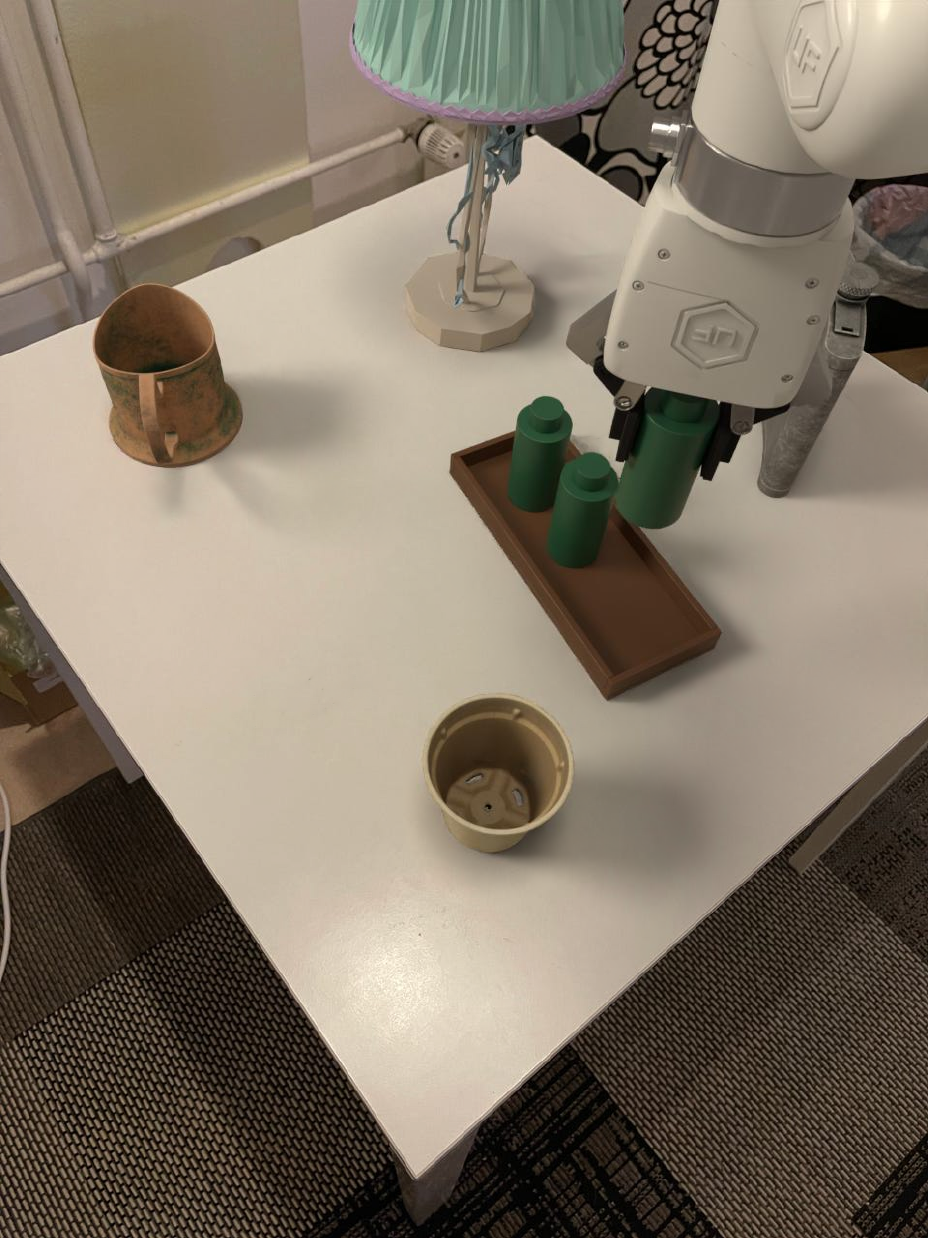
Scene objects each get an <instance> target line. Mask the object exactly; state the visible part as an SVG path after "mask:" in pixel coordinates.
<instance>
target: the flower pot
mask: <svg viewBox="0 0 928 1238" xmlns="http://www.w3.org/2000/svg"><path fill="white" fill-rule="evenodd" d="M571 744H572V743H571V742H570V740H569V737H568V736H567V734H566V732H565V730H564V729H563V727H562V726H561V724H560V723H559V722H558V721H557V720H556V718H555V717H554V716H553V715H552V714H550V713H549V712H548V711H546V710H545V709H544V708H543V707H542V706H540V705H538V703H535V702H534V701H532V700H529V699H527V698H524V697H523V696H518V695H514V694H509V693H501V692H491V693H482V694H481V693H480V694H478V695H474V696H470V697H467V698H465V699H463V700H461V701H459V702H456V703H455V704H453V705H451V706H450V707H449V708H448V709H446V710H445V711H444V712H443V713H442V714H441V715H440V716H439V717H438V719H437V720H436V721H435V722H434V724H433V725H432V727H431V728H430V730H429V732H428V733H427V737H426V739H425V742H424V747H423V750H422V769H423V776H424V779H425V783H426V786H427V789H428V791H429V792H430V795H431V796H432V799H433V800H434V801H435V803H436V804H437V805H438V807H439V808H440V809H441V810H442V814H443V818H444V819H443V820H444V822H445V825H446V827H447V829H448V831H449V832H450V833H451V835H452V836H453V837H454V838H455V839H456V841H458V842H459V843H460V844H461V845H464V846H466V847H468V848H470V849H472V850H475V851H478V852H481V853H498V852H502V851H505V850H508V849H510V848H512V847H514V846H515V845H516V844H518V843H519V842H520V841H521V840H522V839H523V838H524V837H525V836H526V834H527V833H528V832H530V831H532V830H535V829H537V828H539V827H540V826H542V825H544V824H545V823H546V822H548V821H549V820H550V819H551V818H553V817H554V816H555V815H556V814H557V813H558V811H559V810H560V809H561V808H562V806H563V805H564V803H565V802H566V800H567V798H568V796H569V794H570V792H571V790H572V786H573V782H574V781H573V780H574V777H575V756H574V752H573V749H572V745H571ZM479 775H482V778H481V779H478V780H474V781H471V782H469V783H468V781H469V780H470V779H472V778H474V777H476V776H479ZM514 791H518V792H519V794H520V796H521V800H522V804H519V802H518V801H517V799H516V796H515V794H514V793H513V792H514ZM487 805H489V806H490V809H487V808H486V806H487Z"/></svg>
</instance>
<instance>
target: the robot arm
mask: <svg viewBox="0 0 928 1238" xmlns="http://www.w3.org/2000/svg"><path fill="white" fill-rule="evenodd" d="M717 5H718V6H717V9H716V12H715V16H714V19H713V23H712V28H711V31H710V35H709V39H708V43H707V46H706V50H705V53H704V57H703V61H702V65H701V69H700V74H699V77H698V80H697V85H696V88H695V92H694V95H693V97H692V101H691V105H690V109H683V110H682V114H681V117H680V116H676V115H675V116H674V115H672V116H671V118H665V117H661V116H660V117H659V116H654V118H653V122H652V125H651V126H652V127H651V130H650V135H649V140H648V144H647V148H646V151H650V152H655V153H661V154H662V157H663V158H668V159H670V160H669V161H668V162H667V163H666V164H665V165H664V166H663V167H662V169H661V171H660V173H659V174H658V176H657V178H656V180H655V182H654V184H653V187H652V189H651V190H650V193H649V195H648V197H647V199H646V201H645V205H644V207H643V209H642V212H641V214H640V217H639V220H638V224H637V225H636V228H635V230H634V233H633V236H632V238H631V242H630V245H629V248H628V251H627V254H626V257H625V260H624V263H623V267H622V270H621V273H620V278H619V281H618V286H617V288H616V289H614V290H613V291H612V292H611V293H609V294H608V295H606V296H605V297H604V298H602V299H601V300H600V301H599V302H597V304H595V305H594V306H592V307H591V308H590V309H588V310H587V311H586V312H584V313H583V314H582V315H581V316H580V317H578V318H577V319H575V320H574V321H573V322H572V323H571V324H570V325H569V327H568V331H567V336H566V340H565V346H566V347H567V348H568V349H569V350H570V351H571V352H572V353H573V354H574V355H575V356H577V357H578V358H579V359H580V360H581V362H583V363H585V365H589V366H590V367H591V368H592V370H593V371H592V372H593V374H594V375H595V376H596V378H597V379H598V380H599V381H600V383H601V384H602V385H603V386H604V387H605V388H606V390H607V391H608V392H609V394H611V395H612V397H613V402H612V403H613V406H614V407H615V409H614V413H613V415H612V420H611V424H610V428H609V433H608V439H610V440H616V441H618V446H617V450H616V455H615V460H614V461H615V462H619V463H623V464H624V463H625V461H628V458H629V455H630V451H631V448H632V445H633V441H634V438H635V435H636V431H637V428H638V425H639V421H640V417H641V412H642V407H643V399H644V396H645V394H646V392H647V391H646V389H647V388H648V387H650V388H651V387H654V388H659V389H664V390H669V391H673V392H678V393H683V394H688V395H693V396H698V397H703V398H708V399H712V400H717V402H719V403H718V404H719V407H720V419H719V421H718V424H717V426H716V429H715V432H714V434H713V437H712V439H711V442H710V444H709V447H708V449H707V452H706V454H705V457H704V459H703V462H702V464H701V467H700V469H699V477H701V478H702V480H703V481H708V482H712V481H713V480H714V477H715V474H716V472H717V470H718V468H719V465H720V463H726V464H729V463H730V462H731V460H732V459H733V455H734V453H735V451H736V448H737V446H738V444H739V442H740V440H741V437H742V436H745V435H748V434H750V433H751V432H752V431H753V428H754V425H757V424H760V423H762V421H765V420H767V419H770V418H772V417H775V416H777V415H780V414H783V413H785V412H787V411H788V410H789V408H790V407H793V406H796V407H799V406H803V405H807V404H811V403H815V402H819V401H823V400H826V399H828V398H829V397H830V396H831V394H832V375H831V372H830V369H829V367H828V364H827V361H826V358H825V356H824V353H823V350H822V348H821V345H820V342H819V340H820V338H821V335H822V333H823V330H824V327H825V325H826V322H827V319H828V317H829V314H830V311H831V308H832V305H833V303H834V300H835V297H836V294H837V291H838V288H839V285H840V282H841V279H842V276H843V273H844V269H845V266H846V262H847V259H848V255H849V251H851V247H852V242H853V239H854V238H853V237H854V234H855V233H854V232H855V227H856V222H855V217H854V209H853V205H852V202H851V200H850V198H849V195H850V193H851V191H852V189H853V185H854V184H855V182H856V180H858V179H859V180H878V179H890V178H897V177H898V178H899V177H906V176H913V175H920V174H928V0H719V1H718V4H717ZM786 376H787V377H786Z"/></svg>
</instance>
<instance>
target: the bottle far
mask: <svg viewBox="0 0 928 1238" xmlns="http://www.w3.org/2000/svg"><path fill="white" fill-rule="evenodd" d="M573 428H574V423H573V418H572V416H571V415H570V413H569V412H568V411H567V410H566V409H565V406H564V404H563V403H562V401H560V400H559V399H558V398H557V397H553V396H550V395H542V396H539V397H538V396H537V397H536V398H535V399H533V400H532V402H531V403H530V404H528V405H526V406H524V407H523V408H522V409H521V410H520V412H519V413H518V415H517V418H516V423H515V430H514V431H515V437H514V444H513V451H512V459H511V466H510V473H509V480H508V487H507V494H508V497H509V499H510V501H511V502H512V503H513V504H514V505H515V506H516V507H518V508H519V509H522V510H524V511H528V512H541V511H545V510H547V509H549V508H551V507H552V506H553V505H554V504H555V499H556V494H557V489H558V485H559V480H560V475H561V471H562V469H563V468H564V465H565V461H566V456H567V451H568V447H569V442H570V441H571V438H572V437H571V436H572V433H573Z"/></svg>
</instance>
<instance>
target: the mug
mask: <svg viewBox="0 0 928 1238" xmlns="http://www.w3.org/2000/svg"><path fill="white" fill-rule="evenodd" d="M92 351H93V355H94V358H95V361H96V363H97V364H98V368H99V371H100V374H101V377H102V380H103V382H104V384H105V387H106V389H107V392H108V394H109V397H110V400H111V404H112V407H111V409H110V412H109V415H108V416H109V417H108V427H109V432H110V434H111V437H112V439H113V442H114V443H115V444H116V446H117V447H118V449H120V450H121V452H122V453H124V454H125V455H126V456H127V457H129V458H131V459H133V460H135V461H137V462H139V463H142V464H145V465H149V466H153V467H162V468H177V467H184V466H190V465H195V464H197V463H200V462H203V461H206V460H208V459H210V458H212V457H214V456H216V455H218V454H219V453H221V451H223V450H225V448H227V447H228V446H229V445H230V444H231V443H232V442H233V440H234V439H235V438H236V436H237V434H238V433H239V430H240V428H241V426H242V422H243V408H242V401H241V400H240V397H239V395H238V394H237V392H236V390H235V389H234V388H233V387H232V386H231V385H230V384H229V383H228V382H226V380H225V375H224V370H223V365H222V359H221V356H220V352H219V347H218V344H217V342H216V334H215V330H214V325H213V323H212V321H211V319H210V316H209V315H208V314H207V312H206V311H205V310H204V308H203V307H202V306H201V305H200V304H199V303H198V302H197V301H196V300H195V299H193V298H192V297H190V296H189V295H187V294H185V293H184V292H182V291H181V290H179V289H177V288H174V287H171V286H169V285H166V284H162V283H155V282H147V283H142V284H138V285H135V286H133V287H131V288H129V289H127V290H125V291H123V292H122V293H121V294H120V295H119V296H116V298H115V299H114V300H113V301H111V302H110V304H108V305H107V307H106V308H105V309H104V310H103V312H102V314H101V315H100V317H99V319H98V320H97V323H96V325H95V327H94V331H93V336H92Z"/></svg>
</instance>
